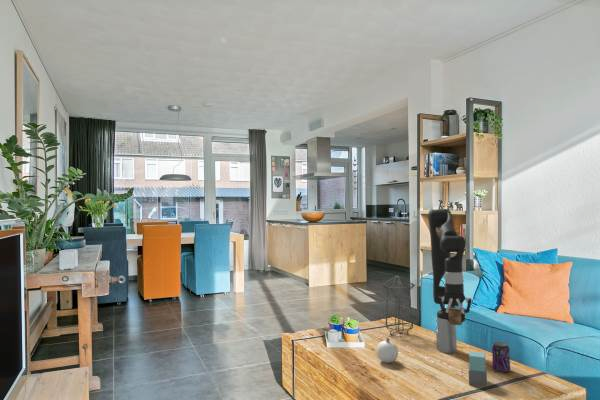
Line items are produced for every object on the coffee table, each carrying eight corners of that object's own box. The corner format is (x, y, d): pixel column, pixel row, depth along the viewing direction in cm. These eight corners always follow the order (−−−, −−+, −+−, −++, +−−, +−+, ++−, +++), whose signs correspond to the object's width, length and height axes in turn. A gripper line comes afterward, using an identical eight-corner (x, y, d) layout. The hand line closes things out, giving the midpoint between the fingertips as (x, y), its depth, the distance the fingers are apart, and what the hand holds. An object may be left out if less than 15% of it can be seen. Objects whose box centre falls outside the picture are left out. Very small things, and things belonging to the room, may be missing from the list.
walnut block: (448, 324, 179) (448, 310, 179) (449, 321, 183) (449, 307, 183) (461, 325, 177) (460, 311, 177) (462, 322, 181) (461, 308, 181)
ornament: (398, 366, 198) (397, 340, 198) (376, 365, 200) (375, 340, 200) (398, 358, 208) (397, 334, 208) (377, 357, 210) (376, 333, 210)
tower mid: (469, 370, 175) (469, 355, 176) (470, 365, 181) (469, 351, 181) (485, 372, 173) (484, 357, 173) (485, 367, 179) (484, 352, 179)
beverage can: (500, 374, 185) (499, 347, 185) (489, 368, 192) (488, 342, 192) (513, 372, 187) (512, 345, 187) (502, 366, 194) (501, 340, 194)
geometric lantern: (396, 329, 259) (395, 273, 260) (418, 334, 246) (416, 275, 247) (380, 334, 248) (378, 276, 250) (402, 340, 236) (400, 278, 237)
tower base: (469, 385, 175) (468, 370, 175) (469, 378, 181) (468, 364, 182) (487, 387, 172) (486, 372, 172) (486, 380, 179) (486, 366, 179)
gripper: (435, 282, 180) (437, 322, 180) (471, 284, 174) (473, 325, 174) (437, 279, 187) (439, 318, 186) (472, 281, 181) (473, 320, 180)
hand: (455, 321), depth 180 cm, fingers closed on walnut block, 5 cm apart
